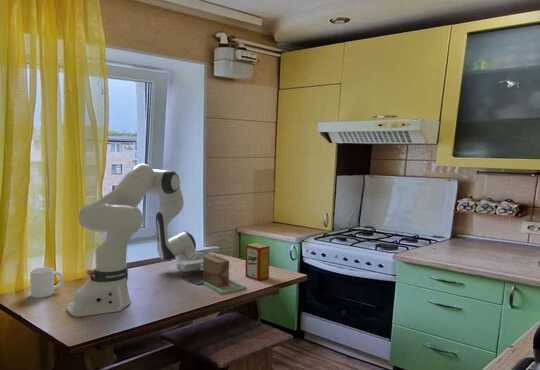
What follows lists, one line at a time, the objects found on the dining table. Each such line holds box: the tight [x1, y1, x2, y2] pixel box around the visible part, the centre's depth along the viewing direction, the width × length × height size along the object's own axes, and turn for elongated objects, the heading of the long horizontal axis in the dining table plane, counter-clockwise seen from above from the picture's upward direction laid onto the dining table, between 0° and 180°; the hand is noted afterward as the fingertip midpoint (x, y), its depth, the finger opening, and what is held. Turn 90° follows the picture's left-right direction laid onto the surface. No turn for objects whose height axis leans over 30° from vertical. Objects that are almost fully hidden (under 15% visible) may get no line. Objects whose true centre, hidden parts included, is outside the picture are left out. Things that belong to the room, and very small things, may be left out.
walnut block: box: [202, 254, 230, 288], centre depth 191 cm, size 6×13×11 cm, turn 37°
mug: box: [29, 266, 64, 299], centre depth 171 cm, size 12×8×10 cm
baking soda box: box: [244, 242, 270, 282], centre depth 199 cm, size 10×6×16 cm
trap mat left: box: [187, 276, 206, 286], centre depth 191 cm, size 5×10×1 cm, turn 37°
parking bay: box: [203, 278, 248, 295], centre depth 185 cm, size 13×16×1 cm
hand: (208, 267), depth 196 cm, fingers closed, pressing on walnut block
